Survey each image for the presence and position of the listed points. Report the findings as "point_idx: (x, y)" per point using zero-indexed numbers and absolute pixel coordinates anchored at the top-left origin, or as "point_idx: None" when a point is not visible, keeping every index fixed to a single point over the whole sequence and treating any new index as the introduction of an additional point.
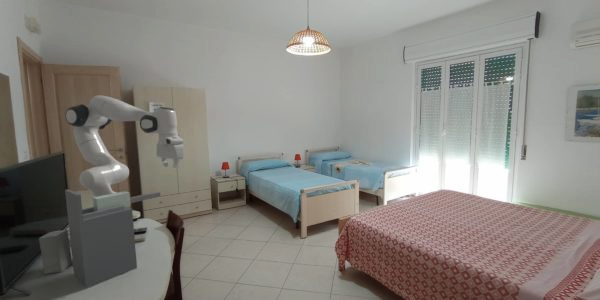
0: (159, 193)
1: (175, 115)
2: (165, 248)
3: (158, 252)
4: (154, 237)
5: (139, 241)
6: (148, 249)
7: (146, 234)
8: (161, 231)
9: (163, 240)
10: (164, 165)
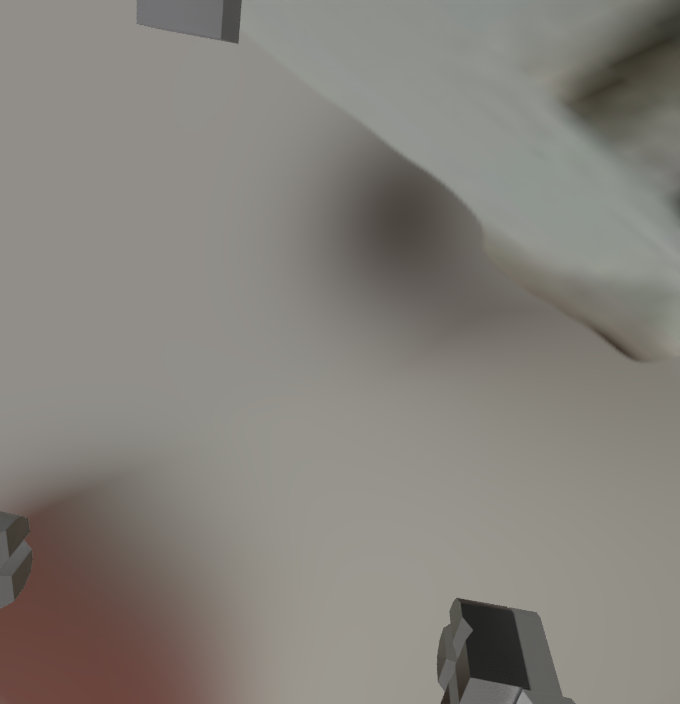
0: (145, 13)
1: None
2: (324, 93)
3: (314, 27)
4: (544, 182)
5: (595, 86)
6: (417, 26)
7: (647, 193)
8: (580, 272)
9: (442, 174)
10: (466, 615)
